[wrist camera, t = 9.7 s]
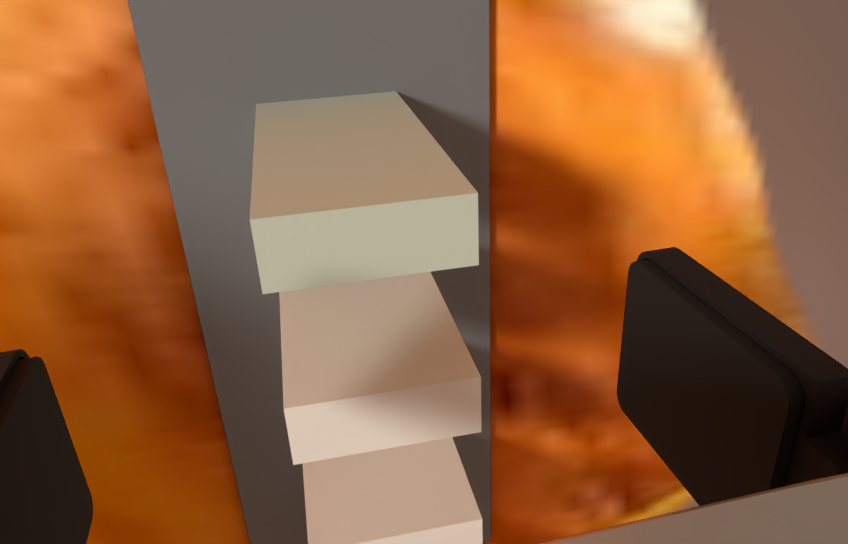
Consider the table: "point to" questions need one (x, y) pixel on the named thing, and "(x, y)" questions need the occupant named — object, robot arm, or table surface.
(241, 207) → the mat
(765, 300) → the table surface
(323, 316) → the domino
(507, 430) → the table surface
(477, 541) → the domino
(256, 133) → the domino
